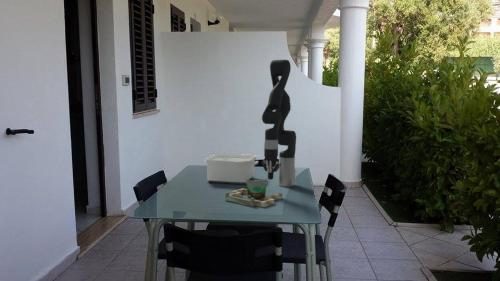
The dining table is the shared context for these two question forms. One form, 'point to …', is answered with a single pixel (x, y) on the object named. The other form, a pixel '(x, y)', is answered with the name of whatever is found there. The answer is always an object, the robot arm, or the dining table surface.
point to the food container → (256, 188)
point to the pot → (230, 168)
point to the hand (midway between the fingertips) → (270, 179)
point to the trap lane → (238, 193)
